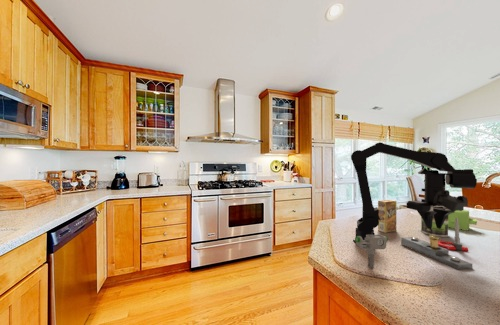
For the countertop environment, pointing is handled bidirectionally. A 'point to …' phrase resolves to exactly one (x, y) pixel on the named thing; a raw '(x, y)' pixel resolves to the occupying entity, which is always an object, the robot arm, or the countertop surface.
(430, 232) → the coffee can
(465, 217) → the gearbox
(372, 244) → the mechanical component
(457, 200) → the robot arm
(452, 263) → the grey slotted bracket fixture
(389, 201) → the candy box
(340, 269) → the countertop surface
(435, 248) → the pin
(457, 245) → the tow hook
